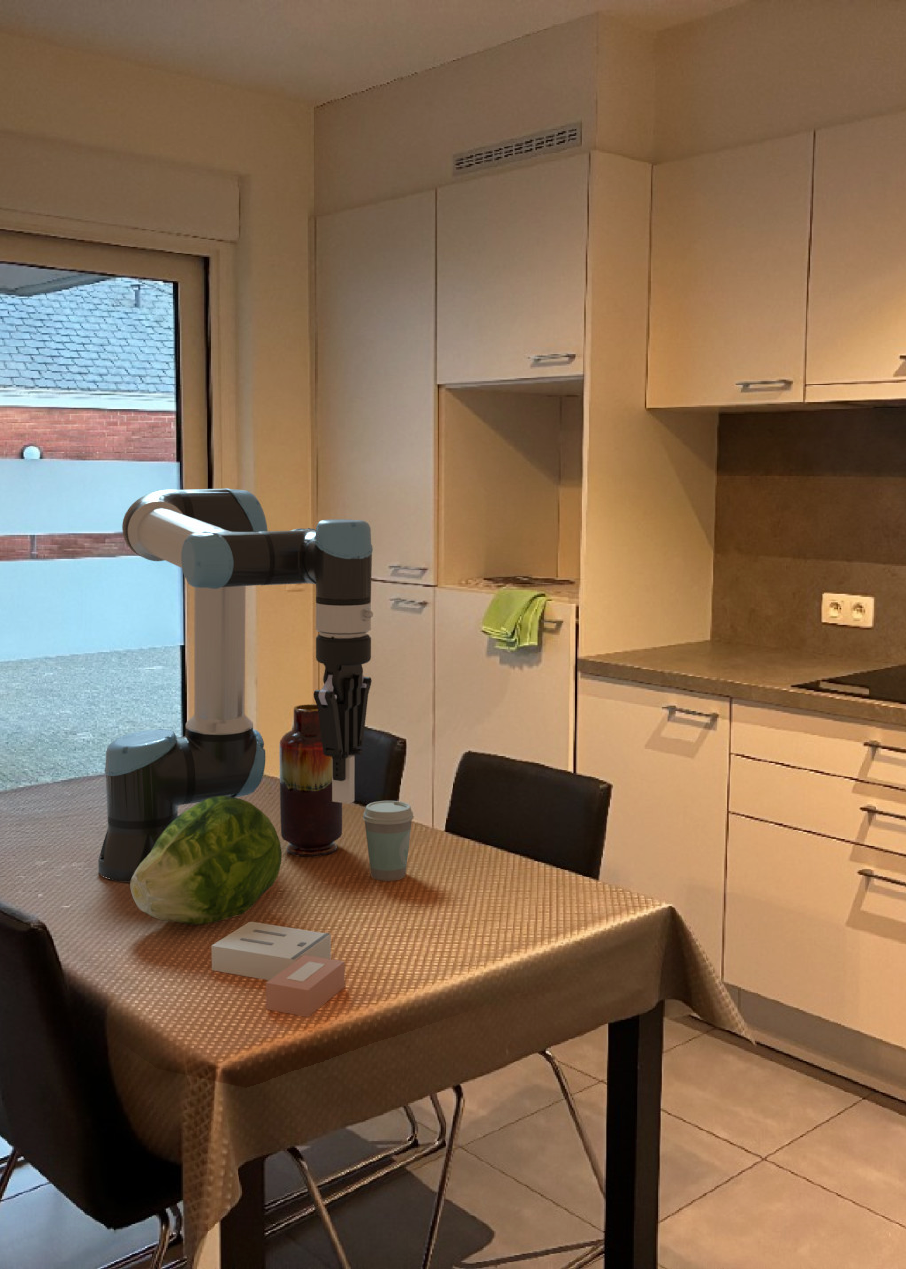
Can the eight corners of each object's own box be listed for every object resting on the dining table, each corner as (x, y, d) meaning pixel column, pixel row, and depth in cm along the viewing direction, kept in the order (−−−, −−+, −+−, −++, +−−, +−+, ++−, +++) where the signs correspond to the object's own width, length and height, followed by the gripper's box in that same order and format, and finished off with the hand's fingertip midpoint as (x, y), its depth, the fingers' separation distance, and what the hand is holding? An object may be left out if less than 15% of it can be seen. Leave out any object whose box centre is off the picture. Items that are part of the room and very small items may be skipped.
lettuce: (110, 916, 192) (98, 813, 185) (240, 861, 207) (233, 764, 200) (172, 974, 179) (161, 866, 172) (306, 911, 194) (301, 809, 187)
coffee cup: (407, 885, 206) (406, 814, 204) (357, 881, 208) (356, 811, 206) (418, 869, 214) (418, 801, 213) (370, 866, 216) (370, 798, 214)
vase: (303, 862, 218) (301, 715, 214) (269, 848, 226) (266, 706, 223) (354, 850, 225) (353, 707, 222) (319, 837, 233) (317, 699, 230)
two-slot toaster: (211, 970, 171) (211, 944, 170) (250, 944, 180) (250, 920, 179) (295, 985, 166) (295, 959, 165) (330, 958, 175) (330, 933, 174)
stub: (266, 1009, 158) (265, 982, 158) (304, 979, 167) (304, 954, 167) (308, 1017, 156) (307, 989, 155) (344, 986, 165) (344, 960, 165)
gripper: (345, 642, 163) (345, 817, 166) (388, 629, 175) (387, 792, 178) (295, 637, 166) (296, 810, 169) (341, 625, 178) (341, 786, 181)
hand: (343, 801), depth 174 cm, fingers closed
